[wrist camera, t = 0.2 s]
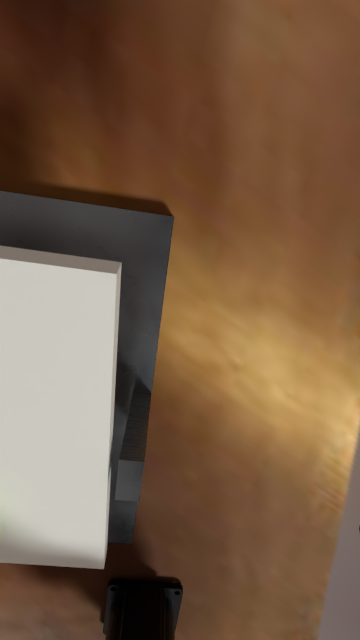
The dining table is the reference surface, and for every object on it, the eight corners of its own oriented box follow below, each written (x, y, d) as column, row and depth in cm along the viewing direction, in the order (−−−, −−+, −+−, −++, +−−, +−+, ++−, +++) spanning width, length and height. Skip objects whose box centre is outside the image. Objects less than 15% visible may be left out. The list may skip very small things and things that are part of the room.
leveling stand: (132, 532, 26) (119, 649, 19) (-79, 516, 25) (-178, 635, 18) (173, 216, 19) (176, 213, 12) (-121, 173, 18) (-316, 139, 11)
